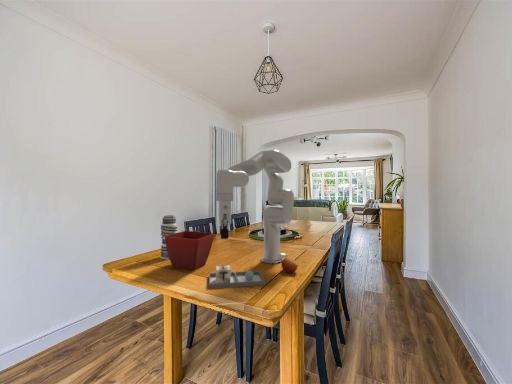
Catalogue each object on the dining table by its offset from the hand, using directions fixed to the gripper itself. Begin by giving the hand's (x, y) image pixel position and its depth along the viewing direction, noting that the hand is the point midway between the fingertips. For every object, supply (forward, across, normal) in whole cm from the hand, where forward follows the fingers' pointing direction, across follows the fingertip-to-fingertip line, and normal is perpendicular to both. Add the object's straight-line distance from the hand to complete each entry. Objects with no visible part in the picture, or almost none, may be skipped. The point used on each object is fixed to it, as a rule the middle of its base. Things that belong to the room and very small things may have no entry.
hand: (223, 236), depth 102 cm
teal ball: (+20, 0, -12) cm, 23 cm away
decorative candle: (+20, +42, +30) cm, 56 cm away
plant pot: (+21, +24, +16) cm, 36 cm away
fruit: (+21, +8, -34) cm, 41 cm away
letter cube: (+20, 0, 0) cm, 20 cm away
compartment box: (+20, 0, -6) cm, 21 cm away
